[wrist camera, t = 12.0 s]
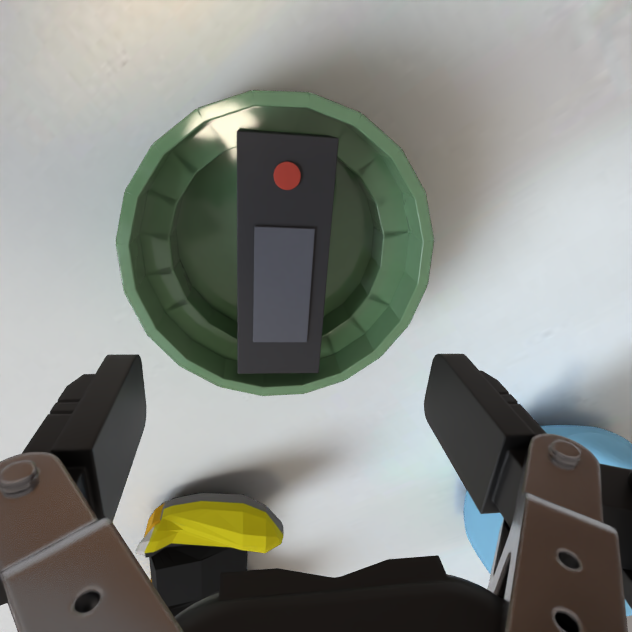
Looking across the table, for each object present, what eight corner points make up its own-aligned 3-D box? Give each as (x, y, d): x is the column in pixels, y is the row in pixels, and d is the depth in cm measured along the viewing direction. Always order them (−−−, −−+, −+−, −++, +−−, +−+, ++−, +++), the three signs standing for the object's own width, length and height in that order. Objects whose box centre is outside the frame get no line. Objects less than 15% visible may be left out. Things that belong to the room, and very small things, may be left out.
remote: (238, 128, 20) (236, 130, 18) (330, 135, 21) (339, 138, 19) (238, 351, 25) (237, 375, 23) (313, 351, 26) (319, 374, 24)
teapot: (634, 357, 33) (807, 466, 23) (569, 525, 41) (677, 664, 30) (481, 363, 32) (592, 484, 21) (443, 537, 39) (511, 689, 29)
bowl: (81, 210, 24) (41, 233, 19) (308, 28, 22) (323, 6, 17) (254, 390, 30) (254, 439, 25) (444, 263, 28) (481, 292, 23)
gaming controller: (281, 468, 33) (144, 471, 32) (286, 529, 28) (124, 537, 27) (271, 595, 39) (156, 603, 38) (274, 664, 34) (141, 677, 33)
